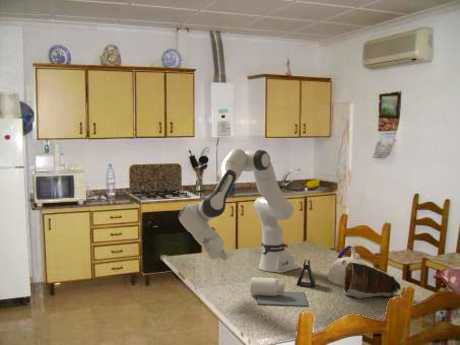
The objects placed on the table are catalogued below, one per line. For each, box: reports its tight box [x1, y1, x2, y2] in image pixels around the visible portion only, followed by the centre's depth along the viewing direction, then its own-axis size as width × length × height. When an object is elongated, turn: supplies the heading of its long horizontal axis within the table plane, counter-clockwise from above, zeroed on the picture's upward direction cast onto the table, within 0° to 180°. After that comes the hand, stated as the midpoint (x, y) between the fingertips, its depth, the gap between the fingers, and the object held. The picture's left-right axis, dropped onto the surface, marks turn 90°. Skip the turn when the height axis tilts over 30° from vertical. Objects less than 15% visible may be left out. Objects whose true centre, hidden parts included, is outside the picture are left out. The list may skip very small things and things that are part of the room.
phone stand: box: [296, 259, 316, 288], centre depth 228 cm, size 9×6×12 cm, turn 76°
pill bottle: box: [249, 276, 285, 296], centre depth 210 cm, size 8×8×15 cm
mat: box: [256, 291, 309, 307], centre depth 208 cm, size 22×16×1 cm
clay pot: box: [342, 262, 402, 300], centre depth 214 cm, size 15×15×25 cm
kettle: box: [327, 245, 364, 287], centre depth 236 cm, size 20×21×18 cm
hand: (226, 258), depth 208 cm, fingers closed
